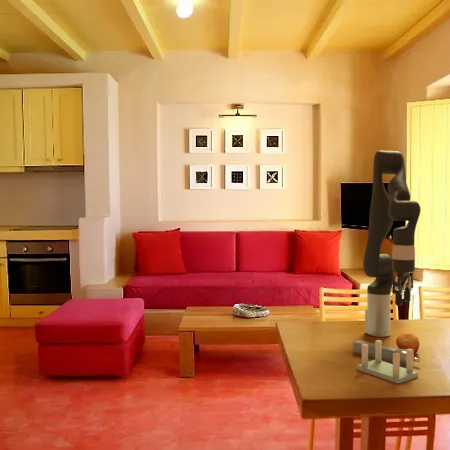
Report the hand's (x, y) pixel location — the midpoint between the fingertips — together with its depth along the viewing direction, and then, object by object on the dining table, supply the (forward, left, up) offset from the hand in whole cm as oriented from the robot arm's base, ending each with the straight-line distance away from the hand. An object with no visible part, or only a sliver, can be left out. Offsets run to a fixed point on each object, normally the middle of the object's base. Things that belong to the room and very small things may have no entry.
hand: (402, 303), depth 177 cm
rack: (+7, -18, -19) cm, 27 cm away
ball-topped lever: (-2, -6, -19) cm, 20 cm away
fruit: (-2, +6, -20) cm, 21 cm away
